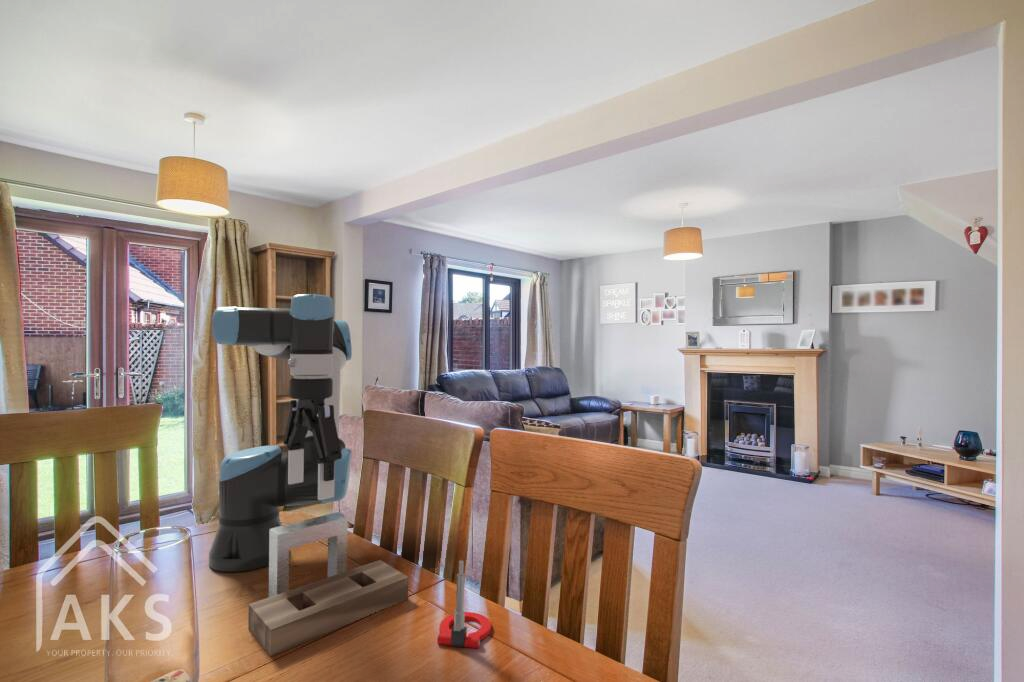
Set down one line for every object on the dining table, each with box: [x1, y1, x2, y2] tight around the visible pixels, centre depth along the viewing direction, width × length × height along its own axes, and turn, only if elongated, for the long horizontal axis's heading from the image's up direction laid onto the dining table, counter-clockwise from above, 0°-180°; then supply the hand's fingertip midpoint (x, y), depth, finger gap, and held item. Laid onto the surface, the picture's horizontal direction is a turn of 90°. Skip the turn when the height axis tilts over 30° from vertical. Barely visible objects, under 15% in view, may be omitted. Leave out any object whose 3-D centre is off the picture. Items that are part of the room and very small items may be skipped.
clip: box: [268, 511, 348, 598], centre depth 93 cm, size 4×13×13 cm, turn 135°
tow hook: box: [436, 560, 492, 649], centre depth 81 cm, size 8×13×9 cm
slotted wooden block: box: [247, 559, 409, 657], centre depth 86 cm, size 10×24×4 cm, turn 135°
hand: (310, 490), depth 92 cm, fingers open, 13 cm apart
